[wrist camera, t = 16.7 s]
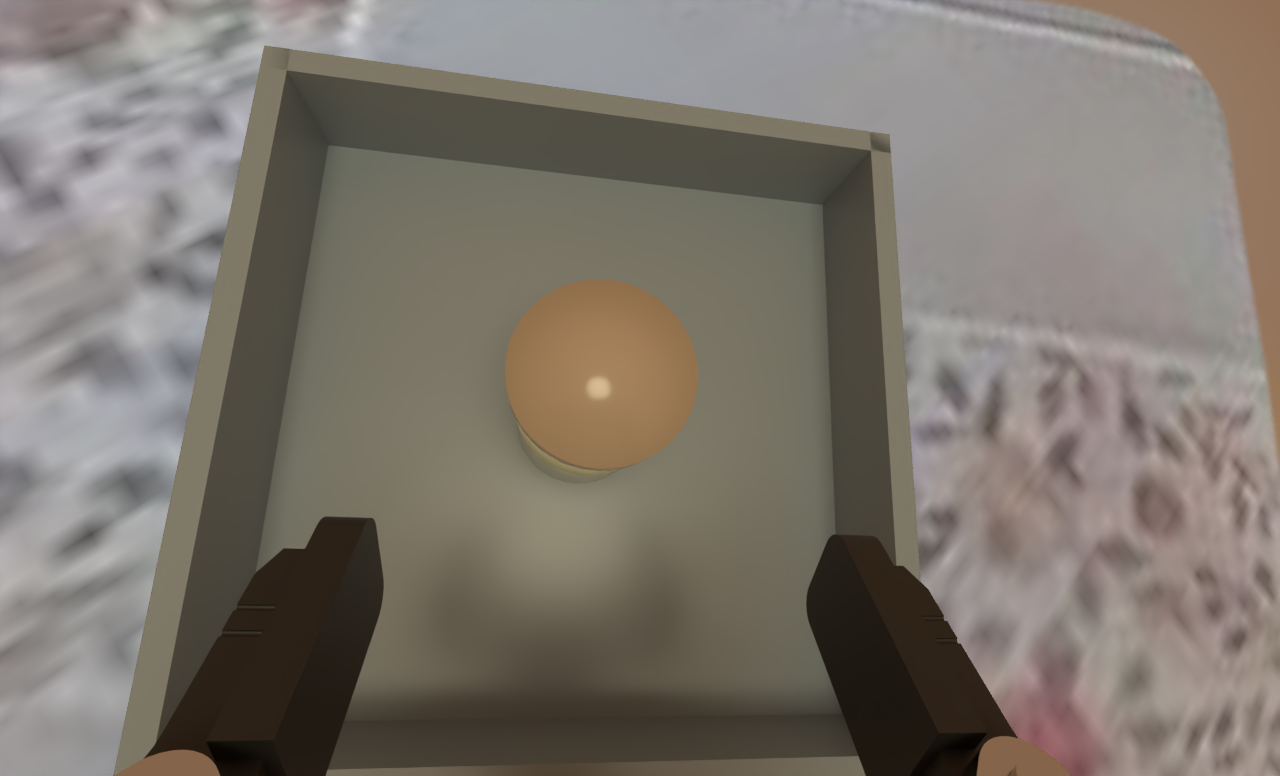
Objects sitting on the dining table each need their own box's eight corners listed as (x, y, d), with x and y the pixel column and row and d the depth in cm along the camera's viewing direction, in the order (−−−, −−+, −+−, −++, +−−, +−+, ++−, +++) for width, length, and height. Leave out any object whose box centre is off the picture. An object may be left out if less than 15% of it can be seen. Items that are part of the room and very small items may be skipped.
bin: (828, 202, 28) (889, 134, 23) (850, 729, 23) (934, 784, 18) (318, 140, 24) (264, 45, 20) (213, 740, 19) (106, 811, 15)
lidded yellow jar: (644, 363, 23) (698, 288, 16) (641, 488, 22) (698, 472, 15) (519, 355, 23) (511, 270, 15) (509, 483, 22) (497, 464, 14)
